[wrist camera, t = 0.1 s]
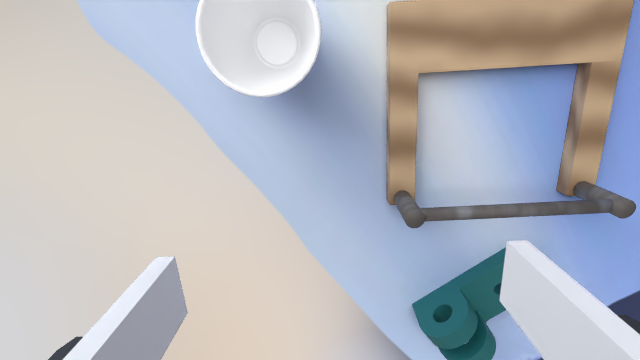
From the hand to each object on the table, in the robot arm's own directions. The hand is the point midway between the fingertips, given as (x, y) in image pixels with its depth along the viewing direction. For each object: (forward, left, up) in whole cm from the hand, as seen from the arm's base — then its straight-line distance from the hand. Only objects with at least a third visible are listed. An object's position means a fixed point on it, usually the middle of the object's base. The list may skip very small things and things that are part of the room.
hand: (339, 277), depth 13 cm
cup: (-11, -5, -28) cm, 31 cm away
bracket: (+22, +20, -28) cm, 41 cm away
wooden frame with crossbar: (-3, +19, -28) cm, 34 cm away
